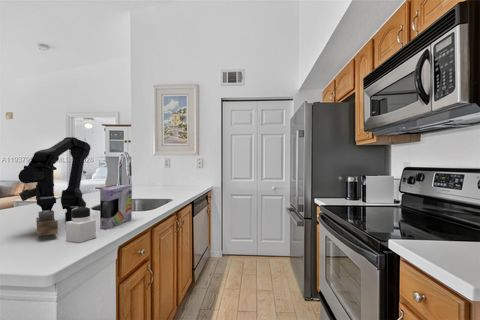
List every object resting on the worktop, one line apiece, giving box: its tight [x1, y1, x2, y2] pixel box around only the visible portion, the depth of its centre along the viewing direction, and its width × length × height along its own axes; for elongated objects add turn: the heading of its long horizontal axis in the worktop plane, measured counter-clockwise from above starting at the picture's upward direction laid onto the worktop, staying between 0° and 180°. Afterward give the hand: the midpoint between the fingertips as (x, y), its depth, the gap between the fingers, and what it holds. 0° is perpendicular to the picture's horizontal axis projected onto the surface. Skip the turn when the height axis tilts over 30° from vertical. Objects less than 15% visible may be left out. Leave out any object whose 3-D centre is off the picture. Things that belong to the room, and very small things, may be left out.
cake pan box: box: [99, 184, 133, 230], centre depth 127 cm, size 19×5×18 cm, turn 170°
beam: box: [35, 217, 59, 237], centre depth 111 cm, size 6×23×7 cm, turn 38°
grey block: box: [38, 209, 55, 222], centre depth 111 cm, size 5×4×6 cm
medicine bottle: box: [65, 206, 97, 244], centre depth 104 cm, size 7×7×12 cm
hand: (45, 218), depth 114 cm, fingers closed
